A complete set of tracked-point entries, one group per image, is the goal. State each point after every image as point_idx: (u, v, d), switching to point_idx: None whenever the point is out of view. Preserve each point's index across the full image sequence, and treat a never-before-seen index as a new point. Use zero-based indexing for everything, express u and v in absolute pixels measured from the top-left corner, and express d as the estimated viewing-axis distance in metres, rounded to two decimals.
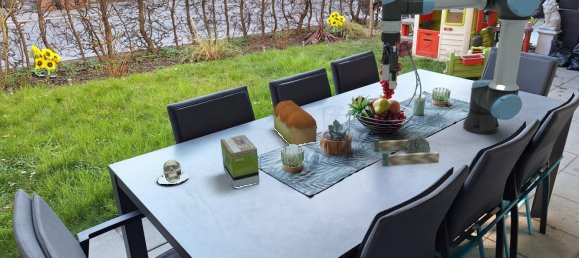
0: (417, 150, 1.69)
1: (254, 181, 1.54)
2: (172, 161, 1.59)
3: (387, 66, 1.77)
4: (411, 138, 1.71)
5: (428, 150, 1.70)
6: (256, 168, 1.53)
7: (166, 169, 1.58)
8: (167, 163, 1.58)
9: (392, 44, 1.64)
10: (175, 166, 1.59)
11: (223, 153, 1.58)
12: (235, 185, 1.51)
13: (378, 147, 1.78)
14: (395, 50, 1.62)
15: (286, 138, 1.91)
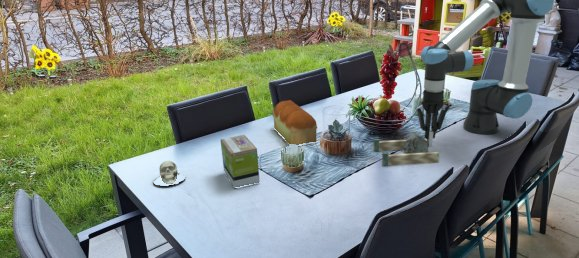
0: (415, 150, 1.69)
1: (254, 181, 1.54)
2: (168, 162, 1.58)
3: None
4: (410, 138, 1.71)
5: (427, 150, 1.70)
6: (256, 168, 1.53)
7: (162, 170, 1.58)
8: (163, 164, 1.57)
9: None
10: (171, 167, 1.58)
11: (223, 153, 1.58)
12: (235, 185, 1.51)
13: (378, 147, 1.78)
14: (418, 111, 1.66)
15: (286, 138, 1.91)
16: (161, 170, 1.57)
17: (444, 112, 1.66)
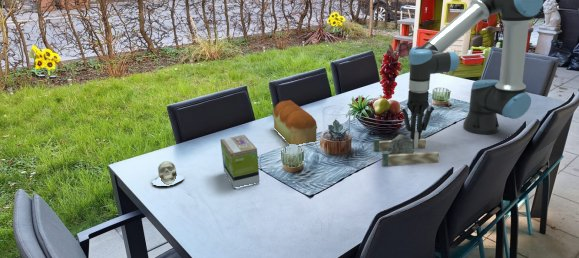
0: (400, 151, 1.69)
1: (254, 181, 1.54)
2: (167, 162, 1.58)
3: None
4: (395, 139, 1.71)
5: (412, 151, 1.69)
6: (256, 168, 1.53)
7: (161, 171, 1.57)
8: (162, 165, 1.57)
9: None
10: (170, 167, 1.58)
11: (223, 153, 1.58)
12: (235, 185, 1.51)
13: (378, 147, 1.78)
14: (403, 112, 1.66)
15: (286, 138, 1.91)
16: (160, 170, 1.57)
17: (429, 113, 1.66)
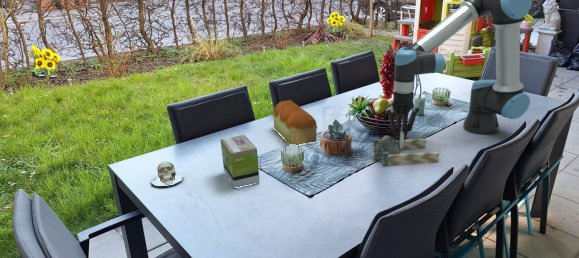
0: None
1: (254, 181, 1.54)
2: (166, 163, 1.58)
3: None
4: (381, 140, 1.71)
5: (397, 152, 1.69)
6: (256, 168, 1.53)
7: (160, 171, 1.57)
8: (161, 165, 1.57)
9: None
10: (169, 168, 1.58)
11: (223, 153, 1.58)
12: (235, 185, 1.51)
13: None
14: (388, 113, 1.65)
15: (286, 138, 1.91)
16: (159, 171, 1.57)
17: (414, 113, 1.65)
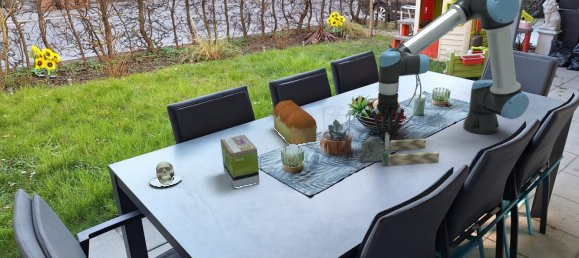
0: (371, 153, 1.68)
1: (254, 181, 1.54)
2: (165, 163, 1.58)
3: None
4: (367, 141, 1.70)
5: None
6: (256, 168, 1.53)
7: (159, 171, 1.57)
8: (160, 165, 1.57)
9: None
10: (168, 168, 1.58)
11: (223, 153, 1.58)
12: (235, 185, 1.51)
13: None
14: (373, 114, 1.65)
15: (286, 138, 1.91)
16: (158, 171, 1.57)
17: (399, 115, 1.65)
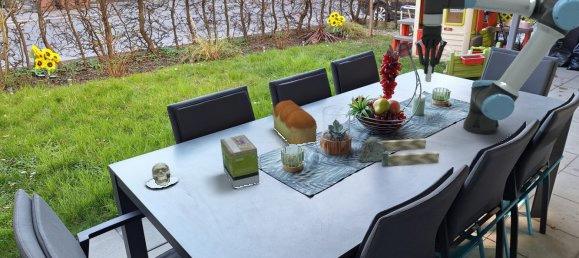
0: (371, 153, 1.68)
1: (254, 181, 1.54)
2: (161, 164, 1.57)
3: None
4: (367, 141, 1.70)
5: None
6: (256, 168, 1.53)
7: (155, 172, 1.56)
8: (156, 166, 1.56)
9: None
10: (164, 169, 1.57)
11: (223, 153, 1.58)
12: (235, 185, 1.51)
13: None
14: (417, 46, 1.74)
15: (286, 138, 1.91)
16: (154, 172, 1.56)
17: (442, 47, 1.74)
